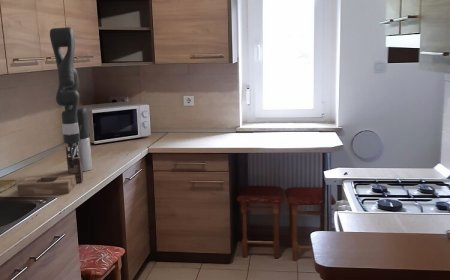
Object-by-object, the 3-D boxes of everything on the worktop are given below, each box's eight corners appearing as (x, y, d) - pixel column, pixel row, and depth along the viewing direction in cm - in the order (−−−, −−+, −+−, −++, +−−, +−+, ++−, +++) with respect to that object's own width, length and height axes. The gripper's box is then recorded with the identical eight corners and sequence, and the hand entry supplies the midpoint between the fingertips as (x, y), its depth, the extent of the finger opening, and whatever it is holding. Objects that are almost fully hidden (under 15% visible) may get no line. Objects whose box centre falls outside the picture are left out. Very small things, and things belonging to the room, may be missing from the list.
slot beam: (28, 187, 227) (27, 177, 226) (76, 184, 228) (75, 174, 227) (18, 196, 213) (17, 185, 212) (68, 193, 214) (67, 182, 214)
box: (83, 180, 236) (81, 156, 233) (81, 182, 231) (79, 158, 229) (71, 181, 235) (68, 157, 233) (69, 183, 231) (66, 159, 228)
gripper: (66, 130, 235) (70, 163, 238) (58, 135, 221) (62, 169, 224) (82, 130, 236) (85, 162, 238) (75, 134, 222) (78, 168, 224)
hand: (74, 165), depth 231 cm, fingers open, 8 cm apart
